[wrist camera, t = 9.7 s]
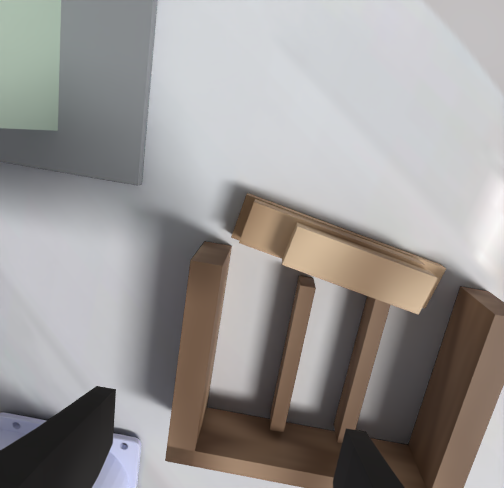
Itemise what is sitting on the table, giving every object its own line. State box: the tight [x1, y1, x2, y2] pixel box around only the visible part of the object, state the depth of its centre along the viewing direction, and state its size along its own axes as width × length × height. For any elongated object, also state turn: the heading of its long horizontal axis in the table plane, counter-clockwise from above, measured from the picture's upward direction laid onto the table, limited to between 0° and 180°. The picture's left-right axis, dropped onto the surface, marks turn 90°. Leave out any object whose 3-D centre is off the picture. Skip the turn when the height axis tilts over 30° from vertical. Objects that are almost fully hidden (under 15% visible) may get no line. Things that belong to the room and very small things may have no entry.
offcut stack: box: [231, 193, 446, 315], centre depth 20 cm, size 11×2×3 cm, turn 70°
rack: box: [165, 241, 504, 488], centre depth 21 cm, size 16×12×4 cm
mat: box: [0, 0, 157, 185], centre depth 19 cm, size 11×11×1 cm
